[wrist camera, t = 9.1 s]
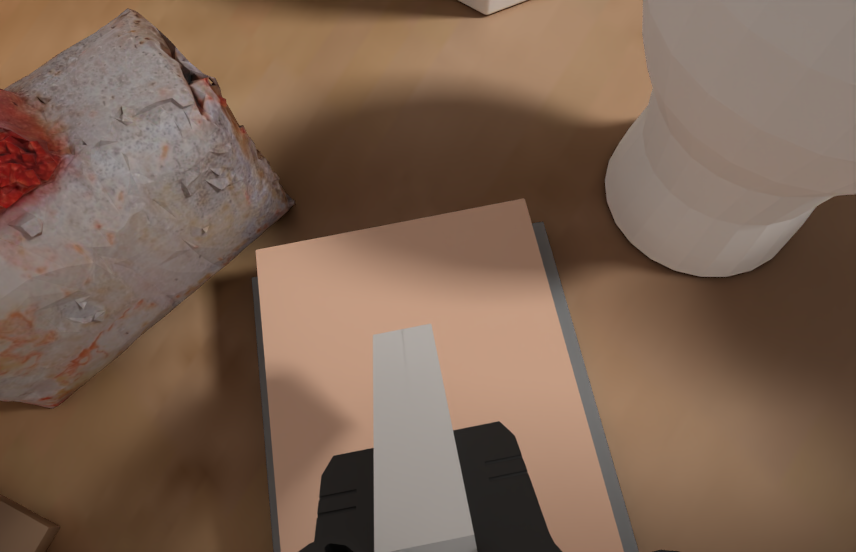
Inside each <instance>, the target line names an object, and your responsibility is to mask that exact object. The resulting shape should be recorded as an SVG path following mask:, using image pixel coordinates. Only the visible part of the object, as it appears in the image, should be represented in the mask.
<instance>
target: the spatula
mask: <svg viewBox="0 0 856 552" xmlns="http://www.w3.org/2000/svg"><path fill="white" fill-rule="evenodd" d="M59 528H60V527H59V526H58V525H56V524H54V523H52V522H50V521H48V520H47V519H45V518H43V517H41V516H39V515H38V514H36V513H34V512H32V511H30V510H28V509H27V508H25V507H23V506H21V505H19V504H18V503H16V502H14V501H12V500H10V499H8V498H7V497H5V496H3V495H1V494H0V552H46V550H47V548H48V547H49V545H50V543H51V541H52V540H53V538H54V536H55V535H56V533H57V531H58V530H59Z"/></svg>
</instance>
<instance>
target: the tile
mask: <svg viewBox="0 0 856 552" xmlns="http://www.w3.org/2000/svg"><path fill="white" fill-rule="evenodd" d="M256 261H257V273H258V285H259V297H260V309H261V321H262V333H263V345H264V357H265V369H266V381H267V393H268V405H269V417H270V429H271V441H272V453H273V465H274V477H275V488H276V500H277V512H278V524H279V536H280V548H281V552H298V551H300V550H301V549H303V548H304V547H305V546H307V545H308V544H310V543H312V542H314V538H315V529H316V520H317V518H318V515H317V511H318V502H319V500H320V499H319V493H320V484H321V475H322V474H323V472H324V470H325V469H326V467H327V465H328V464H329V462H330V460H331V459H332V457H333V456H334V455H340V454H345V453H350V452H355V451H360V450H365V449H370V448H374V440H373V335H375V334H380V333H385V332H390V331H395V330H400V329H405V328H411V327H416V326H421V325H426V324H431V325H432V330H433V335H434V340H435V345H436V350H437V354H438V359H439V364H440V369H441V374H442V379H443V384H444V389H445V394H446V399H447V404H448V408H449V413H450V418H451V423H452V428H453V430H457V429H462V428H467V427H473V426H478V425H483V424H488V423H493V422H498V421H500V422H501V423H502V424H503V425H504V426H505V427H506V428H507V429H508V430H510V431H511V432H512V433H513V434H514V435H515V437H516V440H517V443H518V445H519V448H520V451H521V454H522V458H523V460H524V462H525V465H526V468H527V472H528V474H529V477H530V479H531V482H532V485H533V488H534V491H535V494H536V496H537V499H538V502H539V505H540V508H541V511H542V513H543V516H544V519H545V522H546V525H547V528H548V530H549V533H550V535H551V537H552V539H553V541H554V543H555V544H556V545H557V546H558V547H559V548H560V550H561V551H562V552H624V550H623V547H622V543H621V539H620V536H619V532H618V529H617V525H616V522H615V518H614V514H613V511H612V507H611V504H610V500H609V497H608V493H607V490H606V486H605V482H604V479H603V475H602V472H601V468H600V465H599V461H598V458H597V454H596V450H595V447H594V443H593V440H592V436H591V433H590V429H589V426H588V422H587V418H586V415H585V411H584V408H583V404H582V401H581V397H580V393H579V390H578V386H577V383H576V379H575V376H574V372H573V369H572V365H571V361H570V358H569V354H568V351H567V347H566V344H565V340H564V337H563V333H562V329H561V326H560V322H559V319H558V315H557V312H556V308H555V305H554V301H553V297H552V294H551V290H550V287H549V283H548V280H547V276H546V272H545V269H544V265H543V262H542V258H541V255H540V251H539V248H538V244H537V240H536V237H535V233H534V230H533V226H532V223H531V219H530V216H529V212H528V208H527V205H526V201H525V198H523V199H518V200H513V201H507V202H502V203H497V204H492V205H487V206H481V207H476V208H471V209H466V210H461V211H455V212H450V213H445V214H440V215H435V216H429V217H424V218H419V219H414V220H409V221H403V222H398V223H393V224H388V225H383V226H377V227H372V228H367V229H362V230H357V231H351V232H346V233H341V234H336V235H331V236H325V237H320V238H315V239H310V240H305V241H299V242H294V243H289V244H284V245H279V246H273V247H268V248H263V249H258V250H256Z"/></svg>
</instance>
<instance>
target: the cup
mask: <svg viewBox="0 0 856 552" xmlns="http://www.w3.org/2000/svg"><path fill="white" fill-rule="evenodd" d="M642 34H643V41H644V48H645V56H646V63H647V69H648V72H649V76H650V79H651V83H652V86H653V89H652V93H651V97H650V100H649V104H648V106H647V107H646V108H645V110H644V111H643V112H642V113H641V114H640V116H639V117H638V118H637V119H636V120H635V122H634V123H633V124H632V125H631V127H630V128H629V129H628V131H627V132H626V134H625V135H624V137H623V138H622V140H621V141H620V142H619V144H618V146H617V148H616V149H615V151H614V153H613V155H612V156H611V158H610V160H609V163H608V168H607V173H606V177H605V188H606V198H607V203H608V206H609V208H610V211H611V213H612V216H613V218H614V221H615V223H616V224H617V226H618V227H619V228H620V230H621V231H622V232H623V234H624V235H625V236H626V238H627V239H628V240H629V241H630V243H632V244H633V245H634V246H635V247H636V248H638V249H639V250H640V251H641V252H643V253H644V254H645V255H646V256H648V257H649V258H650V259H652V260H654V261H656V262H658V263H660V264H662V265H664V266H666V267H668V268H670V269H672V270H674V271H678V272H683V273H687V274H691V275H695V276H700V277H728V276H732V275H736V274H740V273H744V272H748V271H752V270H753V269H755V268H757V267H758V266H760V265H762V264H764V263H765V262H767V261H769V260H771V259H772V258H773V257H774V256H775V255H776V254H777V253H778V252H779V250H780V249H781V248H782V247H783V246H784V245H785V244H786V243H787V242H788V241H789V240H790V238H791V237H792V236H793V235H794V234H795V233H796V232H797V231H798V230H799V229H800V228H801V226H802V225H803V224H804V222H805V221H806V220H807V219H808V217H809V216H810V215H811V213H812V212H813V211H814V209H815V208H816V207H817V206H818V205H820V204H821V203H823V202H825V201H827V200H829V199H831V198H832V197H834V196H839V195H853V194H856V0H643V33H642Z"/></svg>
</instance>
